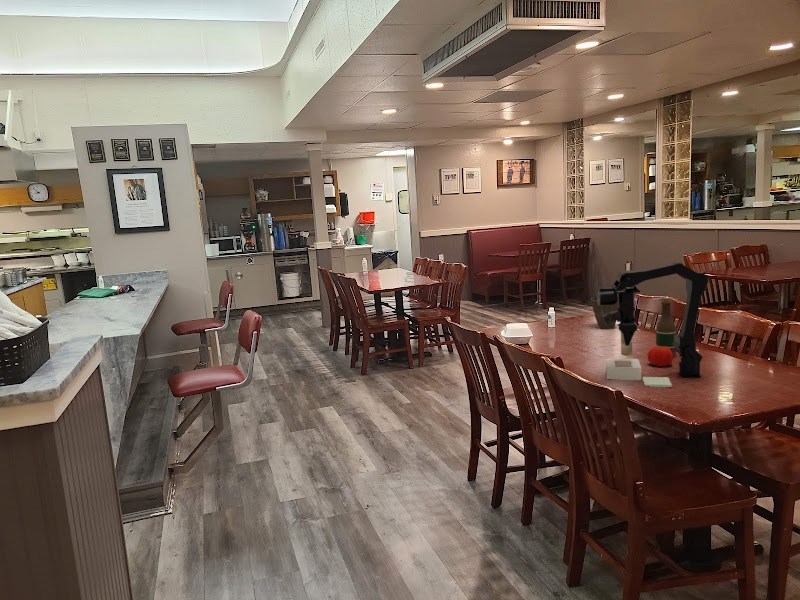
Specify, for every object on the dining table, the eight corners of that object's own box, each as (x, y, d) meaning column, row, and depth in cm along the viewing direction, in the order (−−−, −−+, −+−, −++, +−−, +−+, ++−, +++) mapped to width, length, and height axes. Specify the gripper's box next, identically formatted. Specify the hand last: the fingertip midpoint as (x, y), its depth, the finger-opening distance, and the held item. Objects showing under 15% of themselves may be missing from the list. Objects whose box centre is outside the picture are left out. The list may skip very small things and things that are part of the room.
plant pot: (603, 332, 293) (603, 301, 291) (585, 327, 307) (585, 298, 304) (627, 328, 298) (627, 298, 295) (608, 323, 312) (608, 295, 309)
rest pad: (668, 380, 212) (668, 377, 212) (671, 387, 203) (671, 385, 203) (642, 379, 215) (642, 376, 214) (644, 386, 206) (644, 384, 206)
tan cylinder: (632, 352, 219) (631, 327, 218) (632, 355, 216) (632, 330, 214) (620, 352, 221) (620, 327, 219) (621, 355, 217) (621, 330, 215)
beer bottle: (655, 357, 241) (655, 302, 238) (656, 353, 248) (656, 299, 244) (675, 358, 238) (676, 302, 234) (676, 354, 245) (676, 299, 241)
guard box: (638, 371, 225) (638, 358, 224) (641, 380, 213) (641, 367, 212) (606, 370, 228) (606, 358, 227) (607, 379, 217) (607, 366, 216)
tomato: (670, 362, 234) (671, 344, 233) (674, 368, 226) (674, 350, 224) (646, 361, 237) (646, 344, 236) (648, 367, 228) (648, 349, 227)
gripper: (603, 300, 226) (603, 338, 229) (604, 309, 209) (605, 350, 211) (633, 299, 223) (633, 338, 225) (637, 308, 205) (637, 350, 208)
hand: (626, 344), depth 217 cm, fingers closed on tan cylinder, 4 cm apart
